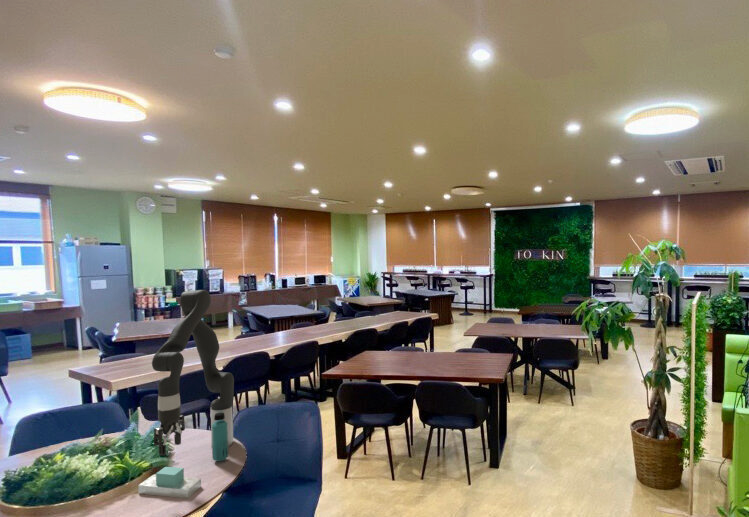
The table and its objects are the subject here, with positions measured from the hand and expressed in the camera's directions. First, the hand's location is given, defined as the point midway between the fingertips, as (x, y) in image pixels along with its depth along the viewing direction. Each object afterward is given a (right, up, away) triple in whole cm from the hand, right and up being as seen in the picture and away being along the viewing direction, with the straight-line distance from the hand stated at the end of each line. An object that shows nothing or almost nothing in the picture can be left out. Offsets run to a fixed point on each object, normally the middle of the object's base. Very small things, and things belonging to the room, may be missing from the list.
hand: (170, 449), depth 156 cm
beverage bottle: (+10, -15, +22) cm, 29 cm away
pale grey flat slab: (0, -15, 0) cm, 15 cm away
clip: (0, -14, 0) cm, 14 cm away
